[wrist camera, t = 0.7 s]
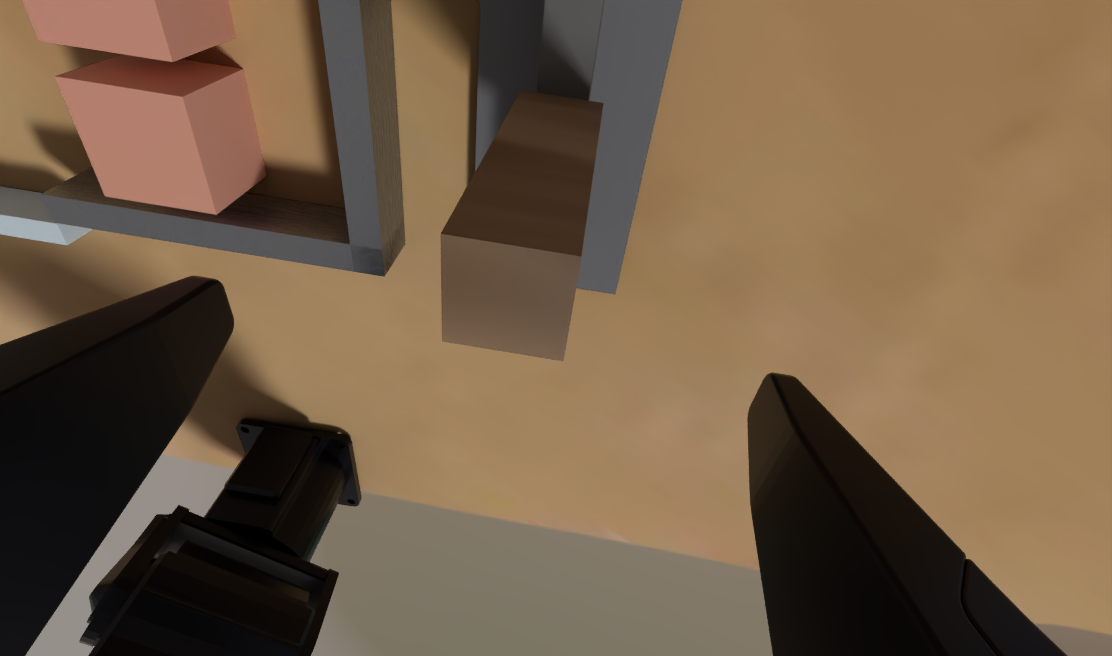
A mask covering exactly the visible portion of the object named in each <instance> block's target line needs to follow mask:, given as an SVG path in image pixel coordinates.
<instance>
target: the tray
mask: <svg viewBox="0 0 1112 656" xmlns="http://www.w3.org/2000/svg"><path fill="white" fill-rule="evenodd" d="M40 194H41V193H39V192H32V191H26V190H20V189H14V188H8V187H2V186H0V234H1V235H7V236H13V237H19V238H26V239H32V240H38V241H44V242H50V243H56V244H62V245H69V244H70V243H72V242H74V241H75V240H77V239H78V238H80V237H82V236H83V235H85V234H86V233H88V232H89V231H91V230H93V229H90V228H84V227H78V226H71V225H65V224H59V223H54V221H53V219H52V217H51V215H50V213H49V211H48V209H47V207H46V205H45V203H44V201H43V199H42V197H41V195H40Z"/></svg>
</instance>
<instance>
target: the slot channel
mask: <svg viewBox="0 0 1112 656" xmlns="http://www.w3.org/2000/svg"><path fill="white" fill-rule="evenodd" d="M318 3H319V11H320V19H321V26H322V34H323V41H324V49H325V57H326V64H327V72H328V79H329V87H330V95H331V102H332V110H333V118H334V125H335V133H336V140H337V148H338V156H339V163H340V171H341V178H342V186H343V194H344V201H345V209H342V208H336V207H330V206H324V205H318V204H311V203H305V202H299V201H293V200H287V199H280V198H274V197H268V196H262V195H256V194H250V193H244V194H243V195H241V196H240V197H239V198H237V199H236V200H235V201H234V202H232V203H231V204H230V205H228V206H227V207H226V208H225V209H223V210H222V211H221V212H219V213H218V214H217V215H215V214H209V213H203V212H197V211H191V210H185V209H179V208H173V207H167V206H160V205H154V204H148V203H142V202H136V201H130V200H124V199H118V198H112V197H106V196H105V195H104V193H103V190H102V188H101V186H100V183H99V181H98V178H97V176H96V174H95V171H94V169H93V168H90V169H88V170H86V171H84V172H82V173H80V174H78V175H76V176H74V177H72V178H70V179H68V180H66V181H64V182H63V183H61V184H59V185H57V186H55V187H53V188H51V189H49V190H47V191H45V192H43V193H41V194H40V195H41V197H42V199H43V201H44V203H45V205H46V207H47V209H48V211H49V213H50V215H51V217H52V219H53V221H54V223H59V224H65V225H71V226H78V227H84V228H90V229H96V230H102V231H108V232H114V233H120V234H127V235H133V236H139V237H145V238H151V239H157V240H163V241H170V242H176V243H182V244H188V245H194V246H200V247H206V248H212V249H219V250H225V251H231V252H237V253H243V254H249V255H255V256H262V257H268V258H274V259H280V260H286V261H292V262H298V263H305V264H311V265H317V266H323V267H329V268H335V269H341V270H347V271H354V272H360V273H366V274H372V275H378V276H385V275H386V273H387V272H388V270H389V269H390V267H391V265H392V264H393V262H394V261H395V259H396V258H397V256H398V255H399V253H400V251H401V250H402V248H403V247H404V245H405V231H404V214H403V198H402V181H401V164H400V147H399V130H398V113H397V97H396V80H395V63H394V46H393V29H392V13H391V0H318Z"/></svg>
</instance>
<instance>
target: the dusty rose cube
mask: <svg viewBox="0 0 1112 656" xmlns="http://www.w3.org/2000/svg"><path fill="white" fill-rule="evenodd" d="M22 1H23V3H24V6H25V8H26V11H27V13H28V15H29V18H30V20H31V22H32V25H33V27H34V30H35V32H36V34H37V37H38V39H39V41H43V42H49V43H55V44H62V45H68V46H74V47H80V48H87V49H93V50H99V51H106V52H112V53H118V54H124V55H131V56H137V57H143V58H150V59H156V60H162V61H169V62H174V61H177V60H179V59H182V58H185V57H187V56H190V55H193V54H195V53H198V52H201V51H203V50H206V49H208V48H211V47H214V46H216V45H219V44H222V43H224V42H227V41H229V40H232V39H235V38H236V34H235V29H234V25H233V20H232V15H231V11H230V6H229V2H228V0H22Z"/></svg>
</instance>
